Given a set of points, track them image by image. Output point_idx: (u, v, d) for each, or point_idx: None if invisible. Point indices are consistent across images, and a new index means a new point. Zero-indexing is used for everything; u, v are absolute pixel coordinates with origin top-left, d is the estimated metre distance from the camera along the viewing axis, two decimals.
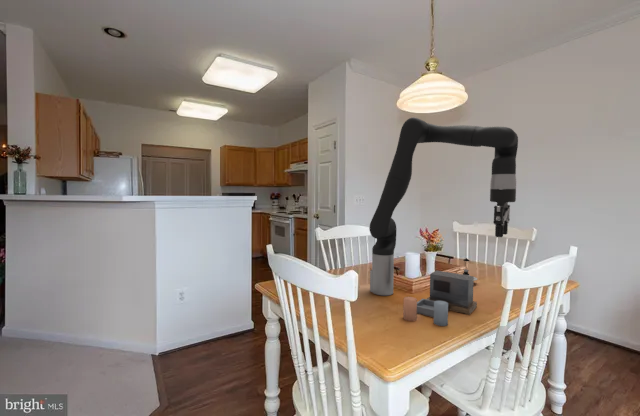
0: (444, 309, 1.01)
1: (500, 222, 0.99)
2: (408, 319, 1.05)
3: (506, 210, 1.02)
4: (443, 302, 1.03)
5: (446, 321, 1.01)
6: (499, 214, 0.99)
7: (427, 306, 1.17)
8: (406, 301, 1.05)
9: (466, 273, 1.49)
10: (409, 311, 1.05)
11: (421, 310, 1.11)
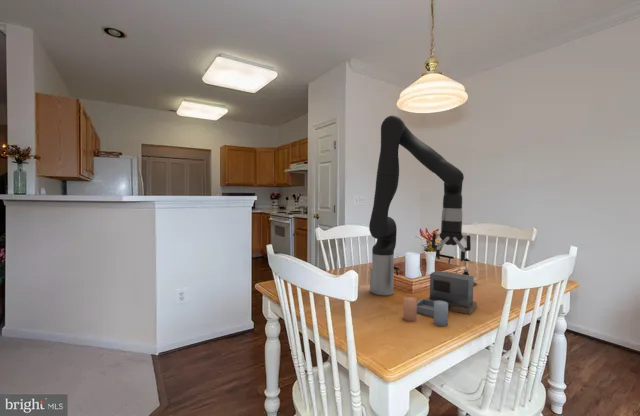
0: (444, 309, 1.01)
1: None
2: (408, 319, 1.05)
3: None
4: (443, 302, 1.03)
5: (446, 321, 1.01)
6: (470, 242, 1.20)
7: (427, 306, 1.17)
8: (406, 301, 1.05)
9: (466, 273, 1.49)
10: (409, 311, 1.05)
11: (421, 310, 1.11)
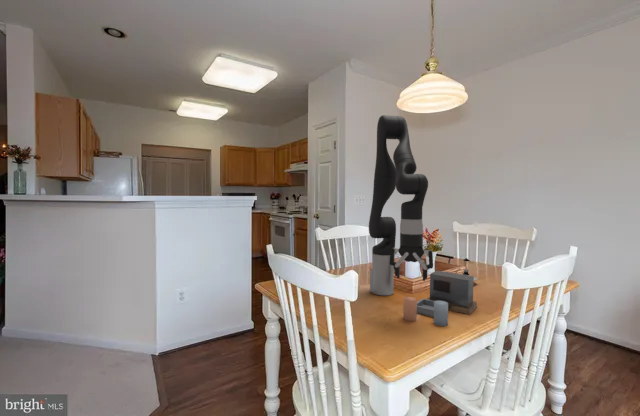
0: (444, 309, 1.01)
1: None
2: (408, 319, 1.05)
3: None
4: (443, 302, 1.03)
5: (446, 321, 1.01)
6: None
7: (427, 306, 1.17)
8: (406, 301, 1.05)
9: (466, 273, 1.49)
10: (409, 311, 1.05)
11: (421, 310, 1.11)
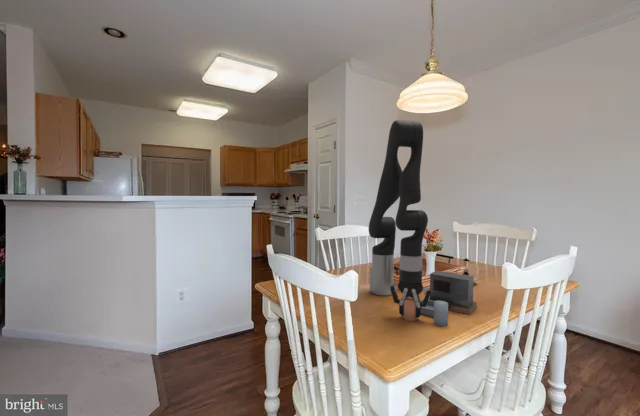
0: (444, 309, 1.01)
1: None
2: (408, 319, 1.05)
3: None
4: (443, 302, 1.03)
5: (446, 321, 1.01)
6: None
7: (427, 306, 1.17)
8: (406, 301, 1.05)
9: (466, 273, 1.49)
10: (409, 310, 1.05)
11: (421, 310, 1.11)
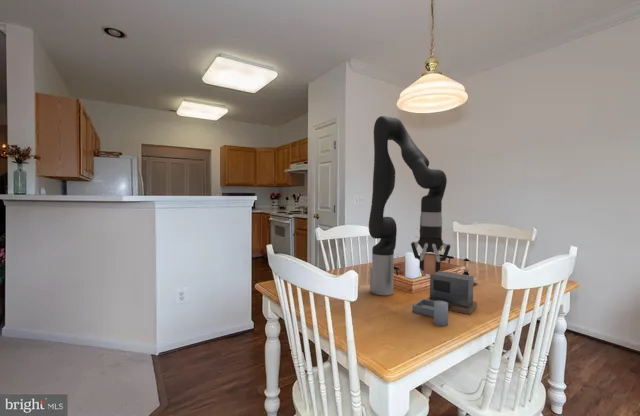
0: (444, 309, 1.01)
1: None
2: (428, 273, 1.11)
3: None
4: (443, 302, 1.03)
5: (446, 321, 1.01)
6: None
7: (427, 306, 1.17)
8: (426, 256, 1.11)
9: (466, 273, 1.49)
10: (429, 265, 1.10)
11: (421, 310, 1.11)
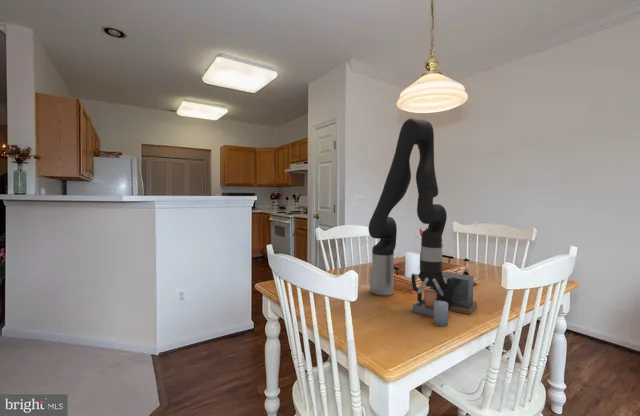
0: (444, 309, 1.01)
1: None
2: None
3: None
4: (443, 302, 1.03)
5: (446, 321, 1.01)
6: None
7: None
8: (427, 293, 1.12)
9: (466, 273, 1.49)
10: (430, 302, 1.11)
11: (421, 310, 1.11)
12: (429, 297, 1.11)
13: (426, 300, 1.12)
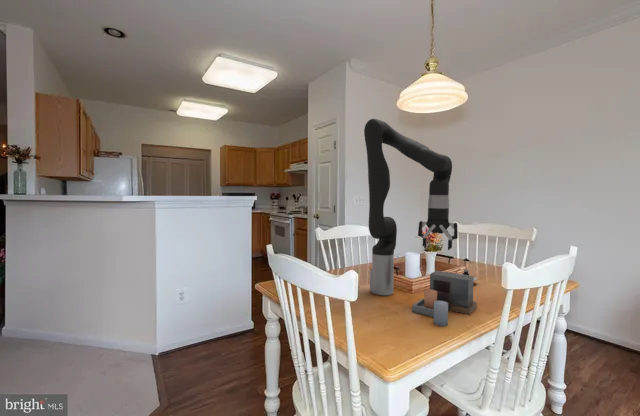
0: (444, 309, 1.01)
1: None
2: None
3: None
4: (443, 302, 1.03)
5: (446, 321, 1.01)
6: None
7: None
8: (427, 293, 1.12)
9: (466, 273, 1.49)
10: (430, 302, 1.11)
11: (421, 310, 1.11)
12: (429, 297, 1.11)
13: (426, 300, 1.12)
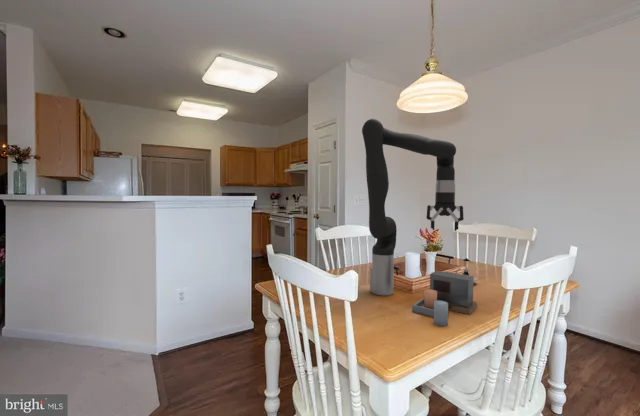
0: (444, 309, 1.01)
1: None
2: None
3: None
4: (443, 302, 1.03)
5: (446, 321, 1.01)
6: None
7: None
8: (427, 293, 1.12)
9: (466, 273, 1.49)
10: (430, 302, 1.11)
11: (421, 310, 1.11)
12: (429, 297, 1.11)
13: (426, 300, 1.12)
